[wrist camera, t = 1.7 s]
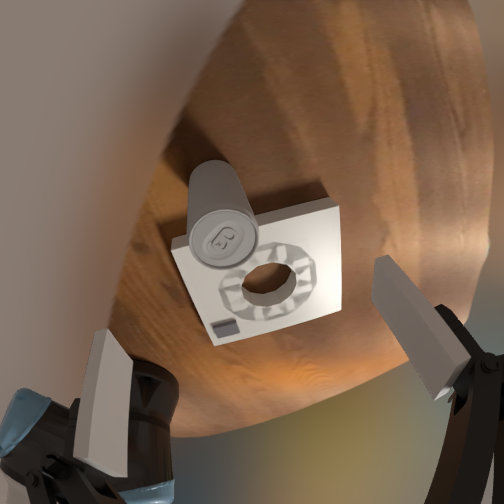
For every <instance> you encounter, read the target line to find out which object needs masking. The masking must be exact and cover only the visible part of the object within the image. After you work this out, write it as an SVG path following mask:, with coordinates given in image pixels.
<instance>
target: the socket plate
mask: <svg viewBox="0 0 504 504" xmlns="http://www.w3.org/2000/svg"><path fill="white" fill-rule="evenodd" d="M255 218H256V220H257V224H258V228H259V244H258V247H257V249H256V252H255V253H254V254H253V256H252V257H251V258H250V259H249V260H248V261H247V262H246V263H245V264H243V265H241V266H239V267H237V268H234V269H230V270H214V269H210V268H208V267H205V266H203V265H202V264H200V263H199V262H198V261H197V260H196V259H195V258H194V257H193V255H192V253H191V251H190V248H189V245H188V242H187V234H185V235H182V236H178V237H175V238H172V245H171V252H172V254H173V257H174V259H175V261H176V264H177V266H178V268H179V271H180V273H181V275H182V278H183V280H184V282H185V284H186V287H187V289H188V291H189V293H190V296H191V298H192V300H193V302H194V304H195V307H196V309H197V311H198V313H199V315H200V317H201V319H202V322H203V324H204V326H205V328H206V330H207V332H208V334H209V336H210V338H211V340H212V342H213V344H214V346H216V345H221V344H225V343H229V342H233V341H237V340H241V339H245V338H249V337H252V336H256V335H260V334H264V333H267V332H271V331H274V330H278V329H281V328H285V327H288V326H292V325H295V324H298V323H302V322H305V321H308V320H312V319H315V318H318V317H321V316H324V315H327V314H330V313H333V312H336V311H339V310H341V238H340V215H339V205H338V204H337V203H336V202H334V201H333V200H332V199H331V198H330V197H327V198H322V199H318V200H314V201H310V202H306V203H302V204H298V205H294V206H290V207H286V208H282V209H278V210H274V211H270V212H266V213H262V214H259V215H255ZM270 262H275V263H281V264H287V265H288V266H289V267H290V268H291V273H290V275H289V277H288V279H287V281H286V283H285V284H283V285H282V286H281V287H279V288H278V289H277V290H275V291H272V292H268V293H265V294H259V293H252V292H249V291H248V290H246V289H245V288H244V287H242V283H243V281H244V278H245V276H246V275H247V274H248V273H249V272H251V271H252V270H253V269H254V268H255V267H257V266H260V265H263V264H267V263H270Z"/></svg>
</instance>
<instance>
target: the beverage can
mask: <svg viewBox="0 0 504 504" xmlns="http://www.w3.org/2000/svg"><path fill="white" fill-rule="evenodd" d="M187 242H188V245H189V248H190V251H191V253H192V255H193V257H194V258H195V259H196V260H197V261H198V262H199V263H200V264H202V265H203V266H205V267H208V268H210V269H214V270H230V269H234V268H237V267H239V266H241V265H243V264H245V263H246V262H247V261H248V260H249V259H250V258H251V257H252V256H253V254H254V253H255V252H256V249H257V247H258V244H259V228H258V224H257V220H256V218H255V216H254V213H253V211H252V209H251V206H250V204H249V202H248V199H247V197H246V195H245V192H244V190H243V188H242V185H241V183H240V181H239V178H238V176H237V174H236V172H235V170H234V168H233V167H232V166H231V165H229V164H228V163H226V162H224V161H221V160H210V161H207V162H204V163H202V164H200V165H198V166H197V167H196V168H195V169H194V170H193V172H192V173H191V175H190V179H189V191H188V210H187Z"/></svg>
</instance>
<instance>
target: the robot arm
mask: <svg viewBox="0 0 504 504" xmlns="http://www.w3.org/2000/svg"><path fill="white" fill-rule="evenodd" d="M371 301H372V302H373V304H374V305H375V307H376V308H377V309H378V311H379V312H380V314H381V315H382V317H383V319H384V320H385V322H386V323H387V325H388V326H389V328H390V329H391V331H392V332H393V334H394V335H395V337H396V339H397V340H398V342H399V343H400V345H401V346H402V348H403V350H404V351H405V353H406V354H407V356H408V358H409V359H410V361H411V363H412V364H413V366H414V367H415V369H416V371H417V372H418V374H419V376H420V378H421V379H422V381H423V382H424V384H425V386H426V388H427V389H428V391H429V393H430V395H431V396H432V398H433V400H436V399H438V398H439V397H441V396H443V395H444V394H446V393H448V391H449V389H450V388H451V387H452V386H453V388H454V390H455V391H454V392H453V394H452V395H451V396H450V398H449V400H448V403H450V402H451V400H452V399H453V401H452V406H451V412H450V417H449V422H448V426H447V431H446V435H445V439H444V444H443V447H442V451H441V455H440V458H439V462H438V465H437V468H436V472H435V475H434V478H433V481H432V484H431V486H430V489H429V492H428V495H427V498H426V500H425V503H424V504H481V501H482V498H483V495H484V491H485V488H486V484H487V480H488V476H489V471H490V467H491V463H492V458H493V453H494V481H493V496H492V504H504V354H503V355H499V356H495V355H494V354H492V353H485V352H484V351H483V350H482V349H481V348H480V346H479V345H478V344H477V342H476V341H475V340H474V338H473V337H472V336H471V335H470V333H469V332H468V331H467V329H466V328H465V327H463V324H462V323H461V322H460V320H458V318H457V317H456V315H455V314H454V313H453V312H452V311H451V310H450V309H449V308H447V307H446V306H444V305H442V304H440V305H438V306H436V307H433V306H432V305H431V304H430V302H429V301H428V300H427V299H426V297H425V296H424V295H423V294H422V293H421V291H420V290H419V289H418V288H417V287H416V286H415V284H414V283H413V282H412V281H411V280H410V279H409V277H408V276H407V275H406V274H405V273H404V272H403V271H402V269H401V268H400V267H399V266H398V265H397V264H396V263H395V262H394V260H393V259H392V258H391V257H390V256H389V255H385V256H382V257H379V258H376V259H375V265H374V276H373V287H372V296H371ZM178 399H179V384H178V382H177V380H176V378H175V377H174V376H173V375H172V374H171V373H169V372H168V371H167V370H165V369H163V368H161V367H159V366H156V365H154V364H151V363H147V362H143V361H138V360H131V358H130V357H129V356H128V355H127V353H126V352H125V351H124V350H123V348H122V347H121V346H120V344H119V343H118V342H117V340H116V339H115V338H114V336H113V335H112V334H111V332H110V331H109V330H108V329H103V330H98V331H95V334H94V338H93V342H92V346H91V350H90V355H89V359H88V364H87V369H86V373H85V378H84V383H83V388H82V394H81V398H75V400H74V401H73V403H72V405H71V407H70V409H69V408H67V407H65V406H63V405H61V404H59V403H57V402H55V401H53V400H52V399H51V398H50V397H45V396H42V395H40V394H38V393H36V392H34V391H32V390H30V389H27V388H21V389H19V390H17V392H16V393H15V394H14V396H13V398H12V400H11V402H10V404H9V406H8V408H7V410H6V413H5V416H4V417H3V420H2V422H1V425H0V458H1V462H0V471H1V473H2V474H3V476H4V477H5V479H6V480H7V482H8V492H7V504H170V503H171V502H172V501H173V499H174V482H175V480H174V479H173V468H172V455H171V439H170V423H171V420H172V417H173V414H174V411H175V408H176V405H177V402H178Z"/></svg>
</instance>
